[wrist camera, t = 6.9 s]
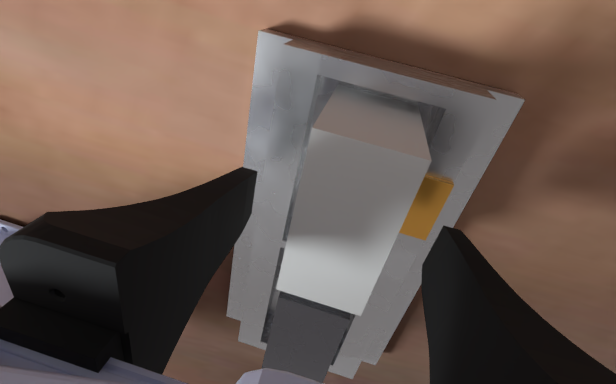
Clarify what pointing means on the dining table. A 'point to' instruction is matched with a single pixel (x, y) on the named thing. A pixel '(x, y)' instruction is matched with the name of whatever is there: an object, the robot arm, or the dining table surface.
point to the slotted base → (286, 178)
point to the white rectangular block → (352, 197)
